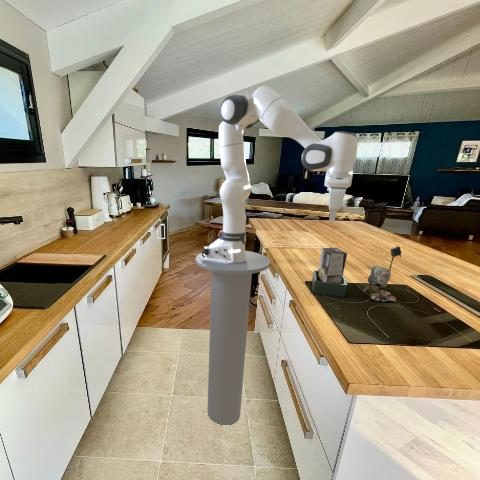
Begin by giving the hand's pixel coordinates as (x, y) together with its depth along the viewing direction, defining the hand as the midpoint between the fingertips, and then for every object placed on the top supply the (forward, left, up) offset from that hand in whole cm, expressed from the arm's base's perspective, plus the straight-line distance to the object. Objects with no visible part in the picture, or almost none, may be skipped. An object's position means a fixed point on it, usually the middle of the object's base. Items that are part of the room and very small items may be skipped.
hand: (331, 219), depth 118 cm
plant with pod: (+21, -4, -28) cm, 35 cm away
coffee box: (+3, 0, -28) cm, 28 cm away
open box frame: (+3, 0, -28) cm, 28 cm away
